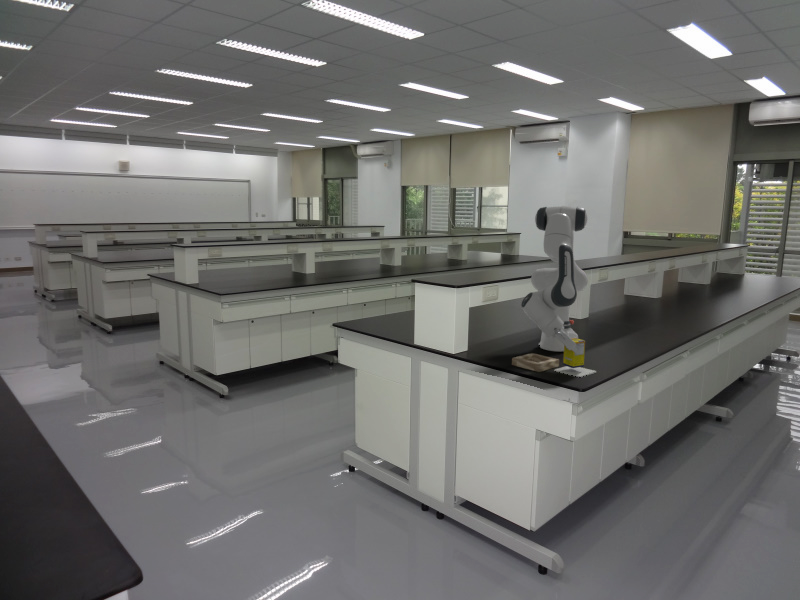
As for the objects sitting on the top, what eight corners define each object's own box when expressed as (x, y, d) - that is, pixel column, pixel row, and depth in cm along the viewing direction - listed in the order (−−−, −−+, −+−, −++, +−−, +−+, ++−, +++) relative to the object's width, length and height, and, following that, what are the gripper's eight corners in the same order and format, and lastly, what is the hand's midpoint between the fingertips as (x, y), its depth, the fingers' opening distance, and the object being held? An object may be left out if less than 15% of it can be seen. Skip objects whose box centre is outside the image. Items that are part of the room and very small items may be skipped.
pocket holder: (531, 359, 238) (532, 353, 237) (558, 366, 227) (559, 359, 227) (511, 364, 229) (512, 358, 228) (539, 372, 218) (539, 364, 218)
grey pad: (570, 366, 227) (570, 364, 227) (596, 372, 218) (596, 371, 218) (554, 371, 220) (554, 369, 220) (580, 377, 211) (580, 376, 211)
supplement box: (573, 363, 223) (575, 337, 221) (584, 366, 218) (585, 340, 216) (562, 364, 220) (564, 338, 219) (573, 368, 215) (574, 342, 213)
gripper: (564, 326, 206) (588, 351, 207) (553, 316, 227) (576, 340, 227) (551, 337, 207) (575, 362, 208) (542, 326, 228) (564, 349, 228)
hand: (575, 350), depth 218 cm, fingers closed on supplement box, 8 cm apart
